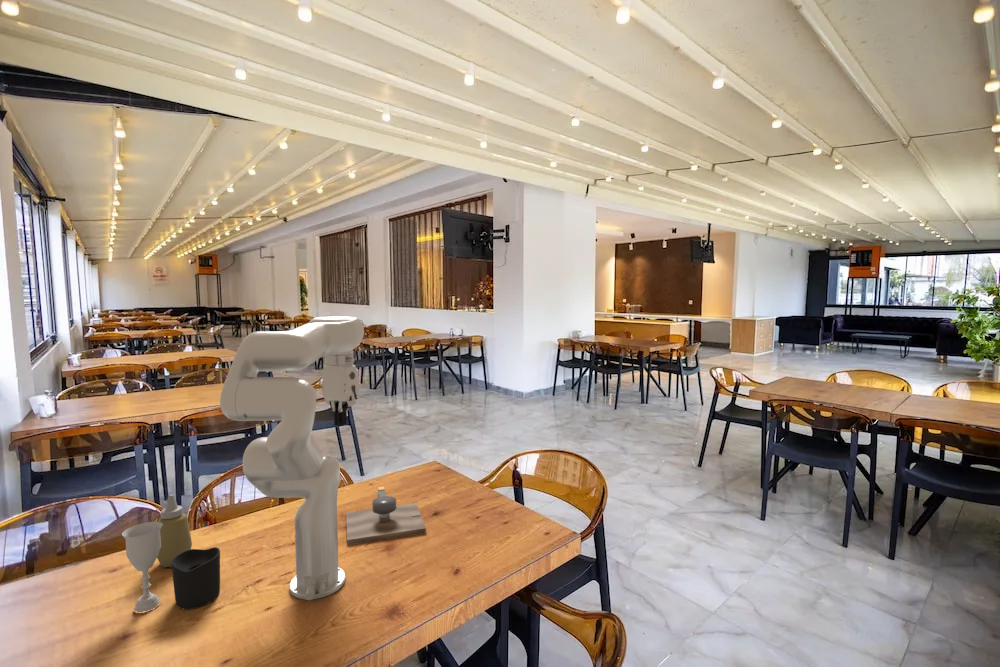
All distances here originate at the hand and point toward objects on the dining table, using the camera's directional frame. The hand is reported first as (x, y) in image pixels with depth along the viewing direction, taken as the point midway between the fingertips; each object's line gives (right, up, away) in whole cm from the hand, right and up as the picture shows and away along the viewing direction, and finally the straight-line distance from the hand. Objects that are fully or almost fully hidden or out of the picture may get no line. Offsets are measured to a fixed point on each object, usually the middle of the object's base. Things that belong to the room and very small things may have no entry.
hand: (340, 424), depth 137 cm
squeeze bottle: (-40, -34, -11) cm, 54 cm away
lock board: (+10, -32, +10) cm, 35 cm away
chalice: (-34, -36, -29) cm, 57 cm away
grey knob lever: (+9, -29, +14) cm, 34 cm away
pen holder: (-24, -35, -25) cm, 50 cm away
